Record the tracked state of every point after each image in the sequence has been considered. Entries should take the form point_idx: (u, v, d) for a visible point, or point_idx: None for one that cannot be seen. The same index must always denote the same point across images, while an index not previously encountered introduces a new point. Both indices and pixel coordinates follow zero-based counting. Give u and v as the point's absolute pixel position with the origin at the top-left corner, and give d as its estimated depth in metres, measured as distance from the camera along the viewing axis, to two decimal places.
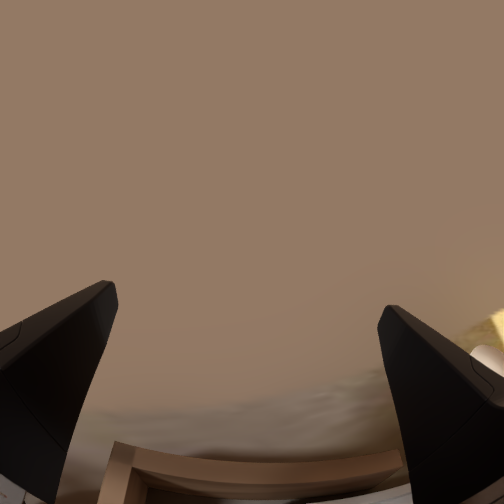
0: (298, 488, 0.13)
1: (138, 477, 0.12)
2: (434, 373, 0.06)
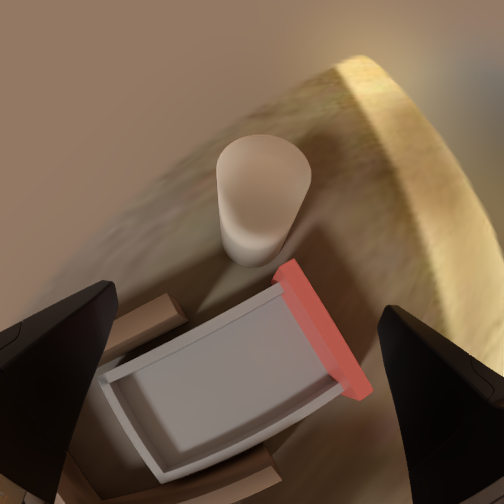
0: None
1: None
2: (434, 373, 0.06)
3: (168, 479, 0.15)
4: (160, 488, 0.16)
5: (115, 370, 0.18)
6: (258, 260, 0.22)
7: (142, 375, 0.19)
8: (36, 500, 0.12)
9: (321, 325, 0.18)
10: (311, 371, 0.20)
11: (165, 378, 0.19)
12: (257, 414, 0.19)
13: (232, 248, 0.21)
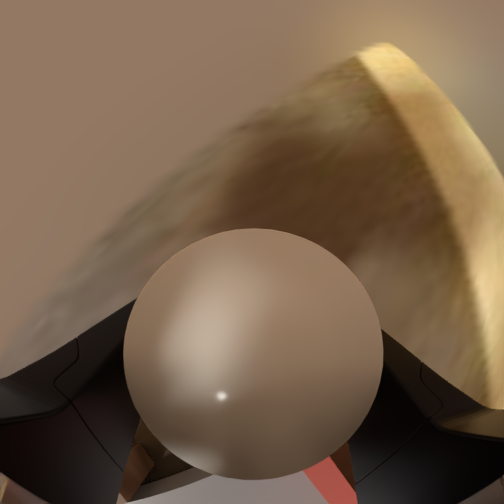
0: None
1: None
2: None
3: None
4: None
5: None
6: None
7: None
8: None
9: None
10: None
11: None
12: None
13: None
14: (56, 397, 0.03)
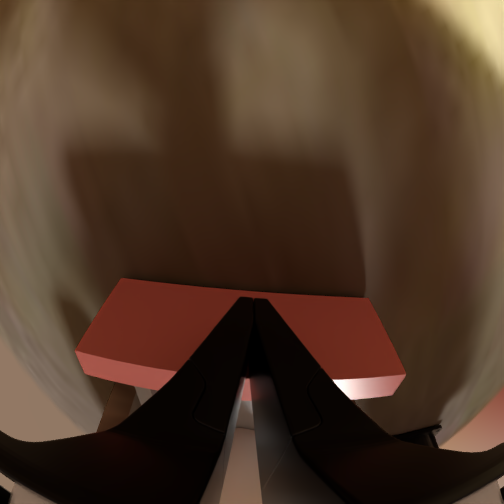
0: None
1: None
2: (265, 382, 0.05)
3: None
4: None
5: None
6: None
7: None
8: None
9: None
10: None
11: None
12: None
13: None
14: (206, 434, 0.03)
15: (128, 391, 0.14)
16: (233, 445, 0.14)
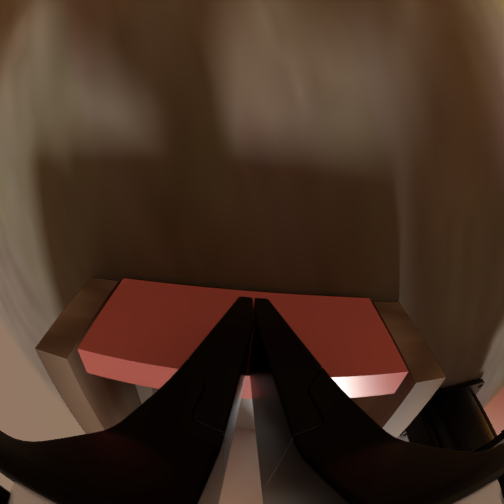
0: None
1: None
2: (266, 382, 0.05)
3: None
4: None
5: None
6: None
7: None
8: None
9: None
10: None
11: None
12: None
13: None
14: (206, 434, 0.03)
15: (101, 291, 0.11)
16: (235, 445, 0.14)
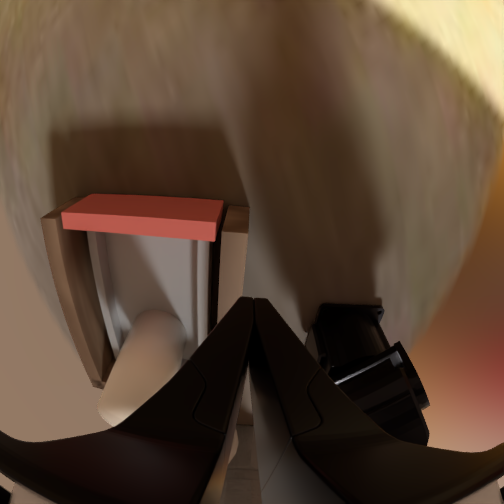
0: (81, 292, 0.20)
1: (109, 368, 0.25)
2: (265, 382, 0.05)
3: None
4: None
5: (114, 351, 0.25)
6: None
7: (126, 334, 0.25)
8: None
9: (120, 228, 0.16)
10: None
11: (132, 323, 0.25)
12: (189, 290, 0.23)
13: None
14: (207, 434, 0.03)
15: (79, 200, 0.19)
16: (154, 319, 0.23)
